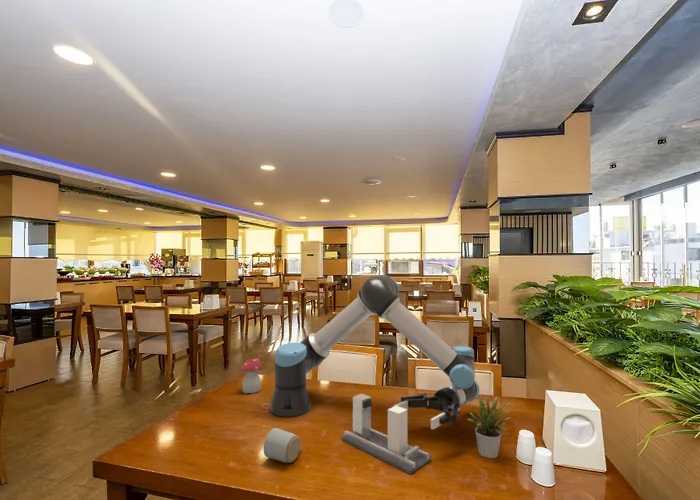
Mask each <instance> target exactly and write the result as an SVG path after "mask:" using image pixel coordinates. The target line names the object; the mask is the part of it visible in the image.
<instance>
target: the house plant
mask: <svg viewBox="0 0 700 500" xmlns="http://www.w3.org/2000/svg"><path fill="white" fill-rule="evenodd" d="M483 395H484V397H483V398H484V401H483V400H482V398H481V397H480V395H478V396H477V398H478V399H477V400H478V403H479V408H480V410H479V412H480V413H479V412H478V410H477V409H476V407H474V406H473V405H472V403H471V402H467V401H466V402H467V403H466V404H468V405H470V407H471V408H472V409H473V410H474V412H475V414H476V415H477V416H476V415H474V414H473V413H472V412H469V414H470V415H471V416H472V418H467V420H468V421H470V422H472V423H473V424H475V425H476V427H475V431H474V432H475V437H476V443H477V449H478V454H479V455H480V456H482V457H484V458H489V459H495V458H498V455H499V449H500V445H501V437H502V433H503V432H502V430H505V428H506V426H505V425H504V424H503V423H504V422H505V421H506V422H507V421H508V419H509V420H510V419H511V417H507V418H504V417H503V415H504V414H506V413H510V414H511V412H510V409H506V410H503V409H504V408H505V407H507V406H508V405H512V404H514V402H506V403H504V404H502V405H501V406H500V407H499V408H498V409H497V410H496V408H497V405H498V399H499V398H498V396H496V397H495V398H494V399H493V402H492V405H491V406H490V401H489V399H488V398H487V396H486V395H485V394H483ZM464 401H465V400H464ZM495 412H496V413H495ZM499 421H500V422H499ZM498 422H499V423H498ZM497 423H498V425H497ZM501 428H502V429H501Z"/></svg>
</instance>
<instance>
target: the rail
mask: <svg viewBox="0 0 700 500" xmlns="http://www.w3.org/2000/svg"><path fill="white" fill-rule="evenodd" d="M341 441H342V442H344V443H346V444H348V445H351V446H353V447H355V448H357V449H358V450H361V451H363V452H365V453H367V454H368V455H371V456H373V457H374V458H377V459H379V460H381V462H382V461H383V462H385V463H386V464H388V465H391V466H393V467H395V468H396V469H399V470H400V471H403V472H404V473H406V474H408V475H411V474H413V473H414V472H416V471H417V470H419V469H420V468H421V467H422V468H423V466H425V465H426V464H428V463H429V462H430V461H432V455H430V453H429V452H427V451H424V450H422V449H420V446H418V445H414V446H413V445H410V444H408V443H407V447H408V451H406V452H405V454H404V455H402V456H400V455H398V454H396V453H394V452H392V451H390V450H388V434H385V433H383V432H381V431H377V430H375V429H373V428H372V396H370V395H367V394H363V393H359V394H357V395H354V396H352V431H349V430H345V431H344V433H343V435H342V436H341Z"/></svg>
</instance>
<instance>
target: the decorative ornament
mask: <svg viewBox="0 0 700 500" xmlns="http://www.w3.org/2000/svg"><path fill="white" fill-rule="evenodd" d="M261 359H262V356H261V355H260V354H256V355H255V358H253V357H252V358H248V359H247V360H246V361H245V362H243V364H242V365H241V367H240V372H241V373H245V375H244V376H243V380H242V382H241V388H242V389H241V392H242V394H247V393H251V394H255V393H257V392H260V389H261V384H262V380H261V377H260V375H259V372H260V371H262V370H263V365H262V363H261V362H260V360H261Z"/></svg>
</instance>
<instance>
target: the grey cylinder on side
mask: <svg viewBox="0 0 700 500" xmlns="http://www.w3.org/2000/svg"><path fill="white" fill-rule="evenodd" d="M301 449H302V445H301V439H300V437H299V436H298V435H296V434H294V433H291V432H290V431H286V430H283V429H281V428H277V427H274V428H272V429H271V430H269V432H268V433H267V435H266V437H265V440H264V443H263V455H264V456H265V457H266V458H268V459H272V460H276V461H279V462H282V463H286V464H288V463H289V464H290V463H293V462H294V461H295V460H297V457H298V456H299V454H300V451H301Z"/></svg>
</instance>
